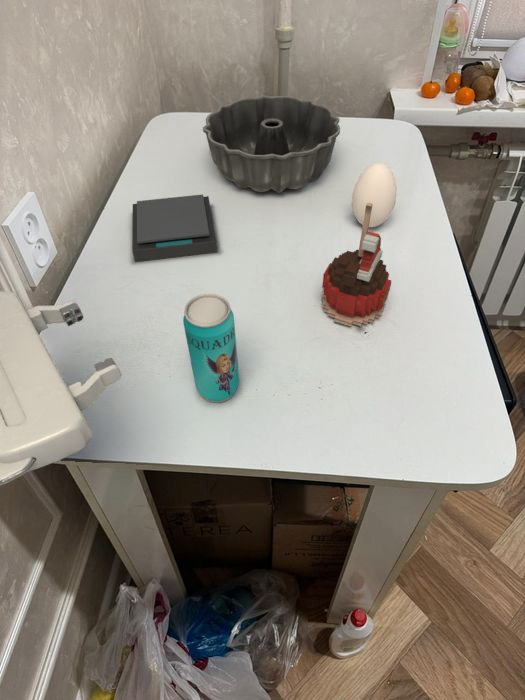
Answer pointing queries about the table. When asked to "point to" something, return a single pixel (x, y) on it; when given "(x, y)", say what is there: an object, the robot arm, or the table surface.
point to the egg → (374, 194)
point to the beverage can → (212, 346)
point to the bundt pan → (271, 141)
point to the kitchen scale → (172, 228)
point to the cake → (357, 281)
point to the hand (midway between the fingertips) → (97, 336)
